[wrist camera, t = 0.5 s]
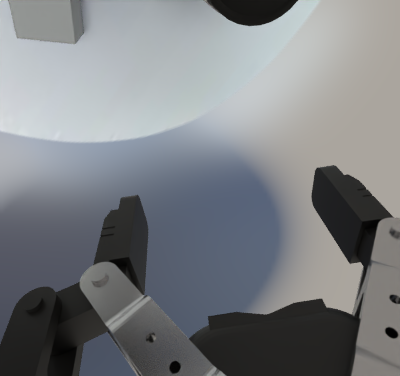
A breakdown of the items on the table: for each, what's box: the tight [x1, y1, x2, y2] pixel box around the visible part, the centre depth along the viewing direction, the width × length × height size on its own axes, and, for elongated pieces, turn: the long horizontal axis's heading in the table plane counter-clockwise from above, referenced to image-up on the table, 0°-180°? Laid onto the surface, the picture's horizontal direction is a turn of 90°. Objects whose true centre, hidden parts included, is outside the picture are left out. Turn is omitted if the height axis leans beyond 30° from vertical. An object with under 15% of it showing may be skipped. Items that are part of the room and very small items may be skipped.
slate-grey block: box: [8, 0, 84, 44], centre depth 28 cm, size 5×5×5 cm
